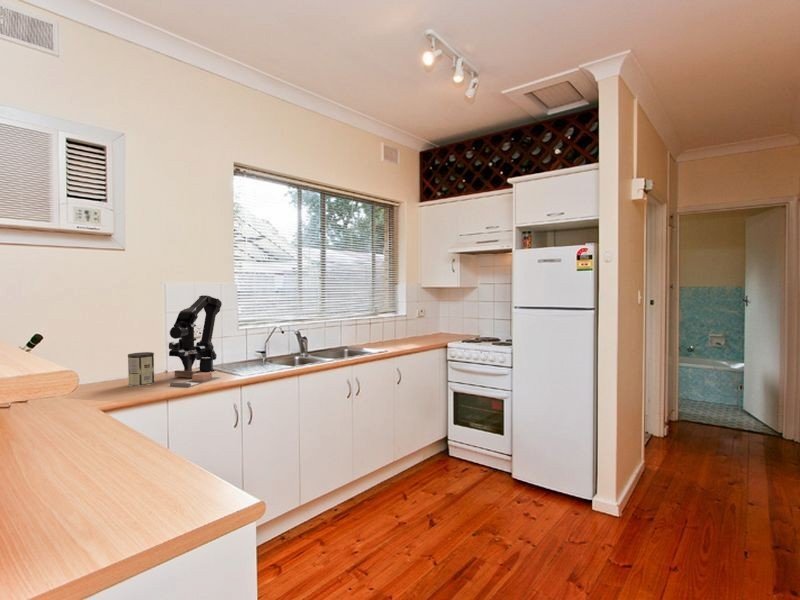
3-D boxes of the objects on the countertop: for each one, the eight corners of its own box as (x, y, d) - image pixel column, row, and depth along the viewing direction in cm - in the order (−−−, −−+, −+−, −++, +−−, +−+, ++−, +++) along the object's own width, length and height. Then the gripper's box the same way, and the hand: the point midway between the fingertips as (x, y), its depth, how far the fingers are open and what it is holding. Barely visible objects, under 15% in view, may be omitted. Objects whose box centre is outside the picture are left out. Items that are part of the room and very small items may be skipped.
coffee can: (138, 382, 208) (138, 351, 208) (159, 382, 207) (159, 352, 207) (122, 387, 198) (122, 355, 198) (144, 387, 197) (143, 355, 197)
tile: (201, 378, 214) (201, 372, 214) (211, 379, 213) (211, 372, 213) (192, 381, 209) (192, 374, 209) (203, 381, 207) (203, 375, 207)
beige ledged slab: (183, 374, 222) (183, 358, 222) (200, 375, 220) (200, 359, 220) (174, 376, 217) (174, 360, 217) (192, 377, 214) (192, 360, 214)
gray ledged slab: (204, 377, 219) (203, 373, 219) (221, 378, 217) (221, 374, 217) (170, 386, 198) (170, 382, 198) (189, 387, 196) (189, 383, 195)
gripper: (187, 334, 229) (187, 364, 230) (159, 338, 211) (159, 371, 212) (206, 334, 226) (206, 365, 227) (178, 338, 208) (179, 372, 209)
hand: (188, 368), depth 219 cm, fingers closed on beige ledged slab, 2 cm apart
